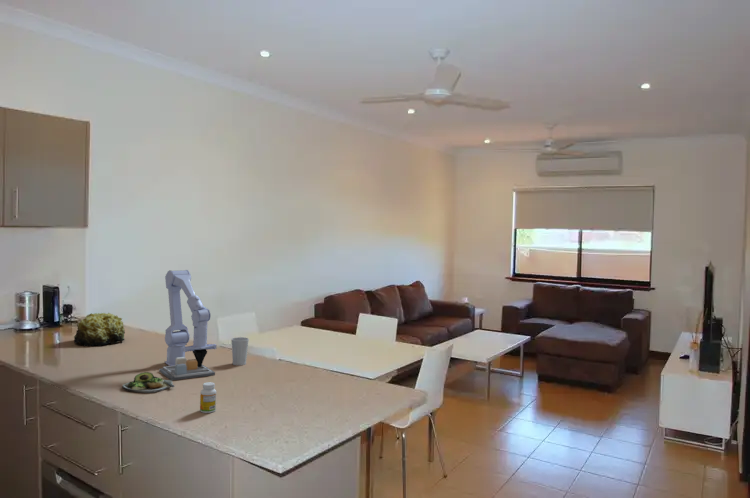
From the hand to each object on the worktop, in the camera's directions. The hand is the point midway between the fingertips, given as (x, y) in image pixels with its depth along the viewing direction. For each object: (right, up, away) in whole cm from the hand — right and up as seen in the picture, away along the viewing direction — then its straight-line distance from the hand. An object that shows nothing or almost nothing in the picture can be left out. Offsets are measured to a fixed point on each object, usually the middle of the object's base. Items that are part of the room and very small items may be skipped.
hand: (199, 366), depth 248 cm
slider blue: (-5, -1, -11) cm, 12 cm away
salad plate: (-13, -3, -25) cm, 28 cm away
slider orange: (-3, -1, -2) cm, 4 cm away
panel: (-5, -3, -3) cm, 6 cm away
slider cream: (-9, -1, +1) cm, 9 cm away
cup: (+13, -3, +18) cm, 23 cm away
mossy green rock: (-71, +2, +53) cm, 89 cm away
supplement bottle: (+19, -5, -51) cm, 55 cm away
